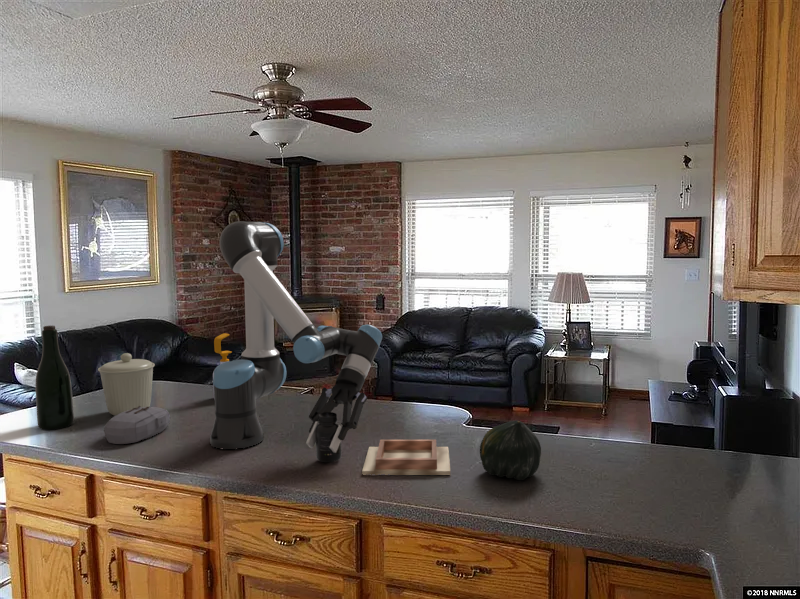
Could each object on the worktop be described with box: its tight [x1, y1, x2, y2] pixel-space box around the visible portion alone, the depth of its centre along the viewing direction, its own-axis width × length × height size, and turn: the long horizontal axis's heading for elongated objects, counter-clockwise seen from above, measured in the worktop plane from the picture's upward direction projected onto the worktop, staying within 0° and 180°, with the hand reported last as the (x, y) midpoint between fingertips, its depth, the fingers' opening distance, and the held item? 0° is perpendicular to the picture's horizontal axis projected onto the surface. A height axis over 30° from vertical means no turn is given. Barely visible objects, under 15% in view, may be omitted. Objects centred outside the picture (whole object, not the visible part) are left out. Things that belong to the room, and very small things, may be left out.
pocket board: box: [361, 439, 451, 476], centre depth 161 cm, size 22×18×4 cm
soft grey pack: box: [103, 406, 171, 445], centre depth 188 cm, size 15×8×20 cm
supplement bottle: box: [315, 411, 343, 463], centre depth 163 cm, size 7×7×12 cm
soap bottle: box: [212, 332, 233, 391], centre depth 230 cm, size 9×9×25 cm
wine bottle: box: [35, 325, 75, 431], centre depth 198 cm, size 10×10×33 cm
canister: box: [97, 352, 156, 417], centre depth 213 cm, size 18×18×21 cm
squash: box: [479, 420, 542, 481], centre depth 151 cm, size 14×15×15 cm
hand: (320, 447), depth 160 cm, fingers closed on supplement bottle, 7 cm apart
